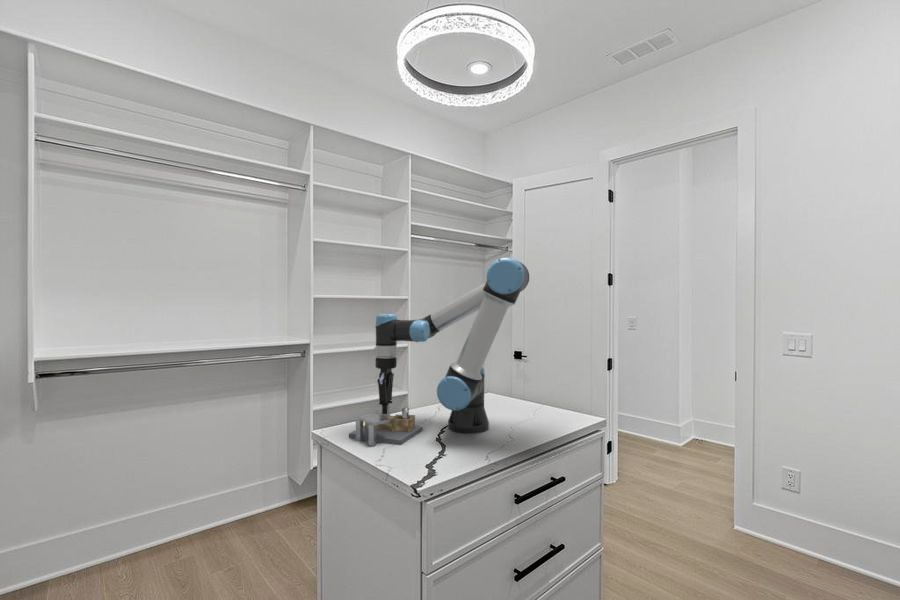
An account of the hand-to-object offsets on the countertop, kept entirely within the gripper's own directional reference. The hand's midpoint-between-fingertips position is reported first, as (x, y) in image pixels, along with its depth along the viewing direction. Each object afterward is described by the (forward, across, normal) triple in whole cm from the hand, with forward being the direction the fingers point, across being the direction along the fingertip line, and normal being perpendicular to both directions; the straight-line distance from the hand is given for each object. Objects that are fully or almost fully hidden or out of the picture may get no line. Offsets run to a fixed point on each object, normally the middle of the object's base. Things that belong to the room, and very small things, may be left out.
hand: (385, 421), depth 160 cm
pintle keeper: (+3, +8, +1) cm, 8 cm away
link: (+1, +2, +2) cm, 4 cm away
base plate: (+3, +4, +2) cm, 6 cm away
